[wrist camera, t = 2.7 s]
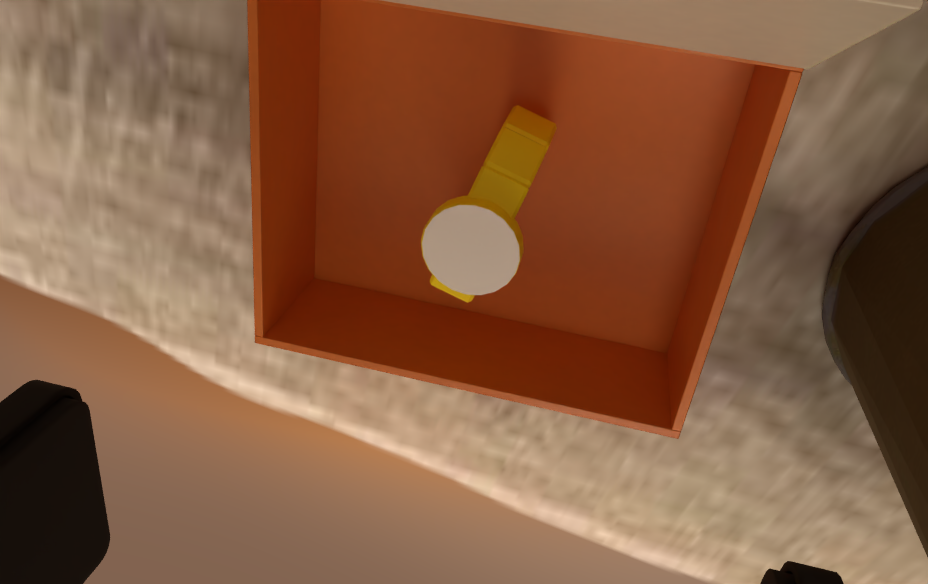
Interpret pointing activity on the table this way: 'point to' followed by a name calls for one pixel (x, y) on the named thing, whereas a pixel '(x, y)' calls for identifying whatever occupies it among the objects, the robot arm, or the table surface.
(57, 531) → the robot arm
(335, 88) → the carton
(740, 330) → the table surface
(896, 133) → the table surface
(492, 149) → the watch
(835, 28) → the flap
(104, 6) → the table surface
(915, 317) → the canister
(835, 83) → the table surface
